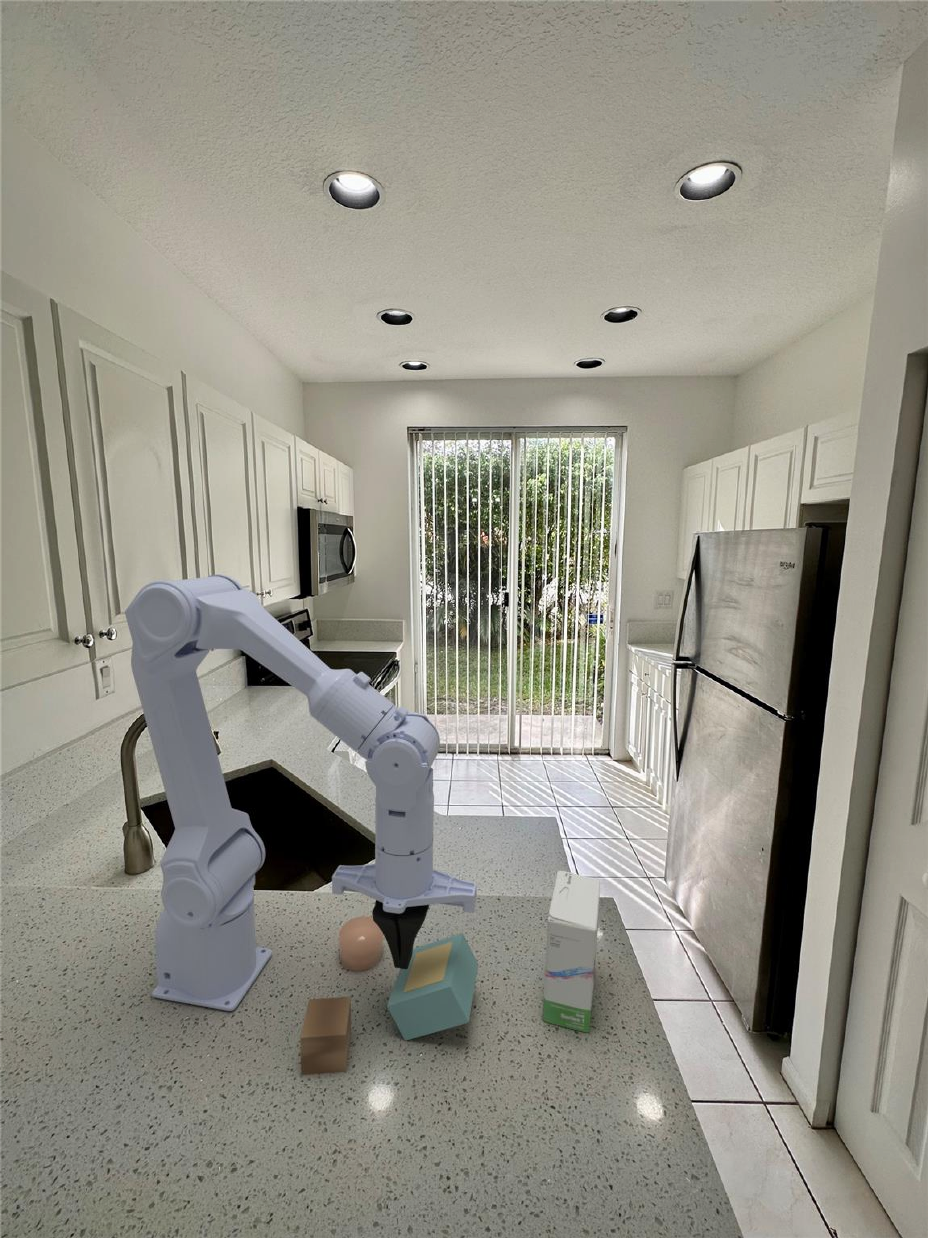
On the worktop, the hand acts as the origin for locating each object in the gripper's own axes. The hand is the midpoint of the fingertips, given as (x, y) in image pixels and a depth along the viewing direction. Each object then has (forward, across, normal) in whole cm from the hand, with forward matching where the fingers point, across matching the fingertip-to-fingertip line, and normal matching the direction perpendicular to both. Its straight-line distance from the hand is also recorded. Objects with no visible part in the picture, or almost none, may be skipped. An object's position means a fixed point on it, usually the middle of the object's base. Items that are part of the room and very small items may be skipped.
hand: (403, 961), depth 54 cm
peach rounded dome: (+6, -7, +6) cm, 11 cm away
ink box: (+6, +17, +5) cm, 19 cm away
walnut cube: (+6, -6, -6) cm, 10 cm away
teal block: (+4, 0, 0) cm, 4 cm away
